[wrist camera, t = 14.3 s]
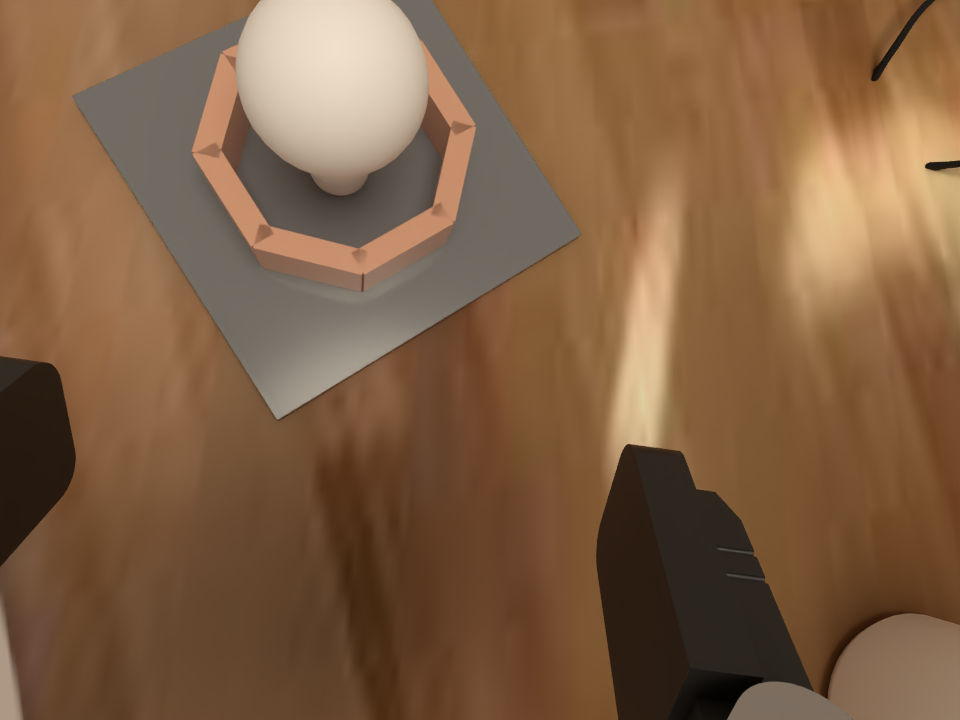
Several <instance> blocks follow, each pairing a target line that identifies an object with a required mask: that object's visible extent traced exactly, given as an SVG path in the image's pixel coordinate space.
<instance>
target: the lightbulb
mask: <svg viewBox="0 0 960 720" xmlns="http://www.w3.org/2000/svg"><path fill="white" fill-rule="evenodd" d="M235 68H236V85H237V89H238V92H239V96H240V100H241V103H242V106H243V109H244V112H245V114H246V116H247V118H248V120H249V122H250V124H251V126H252V127H253V129H254V130H255V131H256V133H257V134H258V135H259V136H260V138H261V139H262V140H263V141H264V143H265V144H266V145H267V146H268V147H269V148H270V149H271V150H273V151H274V152H275V153H276V154H277V155H278V156H280V157H281V158H282V159H283V160H284V161H286V162H288V163H290V164H291V165H293V166H295V167H296V168H298V169H300V170H303V171H306V172H308V173H310V174H311V176H312V178H313V180H314V182H315V183H316V184H317V186H318V187H320V188H321V189H322V190H323V191H325V192H327V193H329V194H332V195H337V196H345V195H349V194H352V193H354V192H356V191H358V190H359V189H360V188H361V187H362V186H363V185H364V184H365V182H366V180H367V177H368V174H369V173H371V172H374V171H376V170H378V169H381V168H383V167H384V166H386V165H387V164H389V163H390V162H391V161H393V160H394V159H396V158H397V157H398V156H399V154H400V153H401V152H402V151H403V150H404V149H405V148H406V147H407V146H408V145H409V144H410V143H411V141H412V140H413V138H414V136H415V135H416V133H417V132H418V130H419V128H420V126H421V123H422V120H423V118H424V115H425V112H426V107H427V102H428V94H429V76H428V67H427V61H426V57H425V54H424V51H423V47H422V44H421V42H420V40H419V38H418V36H417V34H416V32H415V30H414V28H413V26H412V24H411V22H410V21H409V19H408V18H407V17H406V16H405V14H404V13H403V12H402V10H401V9H400V8H399V7H398V6H397V5H396V4H395V3H394V2H393V1H391V0H261V1H260V2H259V3H258V4H257V6H256V7H255V8H254V10H253V11H252V13H251V14H250V16H249V17H248V19H247V22H246V24H245V27H244V29H243V31H242V34H241V36H240V39H239V43H238V49H237V55H236V66H235Z"/></svg>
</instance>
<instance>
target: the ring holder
mask: <svg viewBox="0 0 960 720" xmlns="http://www.w3.org/2000/svg"><path fill="white" fill-rule="evenodd" d="M391 1H393V2H394V3H395V4H396V5H397V6H398V7H399V8H400V9H401V10H402V12H403V13H404V14H405V16H406V17H407V18H408V19H409V21H410V22H411V24H412V26H413V28H414V30H415V32H416V34H417V36H418V38H419V40H420V42H421V44H422V47H423V51H424V54H425V57H426V61H427V67H428V76H429V94H428V102H427V107H426V112H425V115H424V118H423V120H422V123H421V126H420V128H419V130H418V132H417V133H416V135H415V136H414V138H413V140H412V141H411V143H410V144H409V145H408V146H407V147H406V148H405V149H404V150H403V151H402V152H401V153H400V154H399V156H398V157H397V158H396V159H394V160H393V161H391V162H390V163H389V164H387V165H386V166H384V167H383V168H381V169H378V170H376V171H374V172H371V173H369V174H368V177H367V180H366V182H365V184H364V185H363V186H362V187H361V188H360V189H359V190H358V191H356V192H354V193H352V194H349V195H345V196H337V195H332V194H329V193H327V192H325V191H323V190H322V189H321V188H320V187H318V186H317V184H316V183H315V182H314V180H313V178H312V176H311V174H310V173H308V172H306V171H303V170H300V169H298V168H296V167H295V166H293V165H291V164H290V163H288V162H286V161H284V160H283V159H282V158H281V157H280V156H278V155H277V154H276V153H275V152H274V151H273V150H271V149H270V148H269V147H268V146H267V145H266V144H265V143H264V141H263V140H262V139H261V138H260V136H259V135H258V134H257V133H256V131H255V130H254V129H253V127H252V126H251V124H250V122H249V120H248V118H247V116H246V114H245V112H244V109H243V106H242V103H241V100H240V96H239V92H238V89H237V85H236V68H235V66H236V55H237V49H238V43H239V39H240V36H241V34H242V31H243V29H244V27H245V24H246V22H247V19H248V17H249V16H250V15H248V16H246V17H244V18H242V19H240V20H237V21H235V22H233V23H231V24H229V25H226V26H224V27H222V28H220V29H218V30H215V31H213V32H211V33H209V34H207V35H205V36H202V37H200V38H198V39H196V40H194V41H191V42H189V43H187V44H185V45H183V46H180V47H178V48H176V49H174V50H172V51H169V52H167V53H165V54H163V55H161V56H158V57H156V58H154V59H152V60H150V61H148V62H145V63H143V64H141V65H139V66H137V67H134V68H132V69H130V70H128V71H126V72H123V73H121V74H119V75H117V76H115V77H112V78H110V79H108V80H106V81H104V82H102V83H99V84H97V85H95V86H93V87H91V88H88V89H86V90H84V91H82V92H80V93H77V94H75V95H73V96H72V97H73V99H74V101H75V102H76V104H77V105H78V107H79V108H80V110H81V112H82V113H83V115H84V116H85V118H86V119H87V121H88V123H89V124H90V126H91V127H92V129H93V130H94V132H95V134H96V135H97V137H98V138H99V140H100V141H101V143H102V145H103V146H104V148H105V149H106V151H107V153H108V154H109V156H110V157H111V159H112V160H113V162H114V164H115V165H116V167H117V168H118V170H119V171H120V173H121V175H122V176H123V178H124V179H125V181H126V182H127V184H128V186H129V187H130V189H131V190H132V192H133V193H134V195H135V197H136V198H137V200H138V201H139V203H140V204H141V206H142V208H143V209H144V211H145V212H146V214H147V216H148V217H149V219H150V220H151V222H152V223H153V225H154V227H155V228H156V230H157V231H158V233H159V234H160V236H161V238H162V239H163V241H164V242H165V244H166V245H167V247H168V249H169V250H170V252H171V253H172V255H173V256H174V258H175V260H176V261H177V263H178V264H179V266H180V267H181V269H182V271H183V272H184V274H185V275H186V277H187V279H188V280H189V282H190V283H191V285H192V286H193V288H194V290H195V291H196V293H197V294H198V296H199V297H200V299H201V301H202V302H203V304H204V305H205V307H206V308H207V310H208V312H209V313H210V315H211V316H212V318H213V319H214V321H215V323H216V324H217V326H218V327H219V329H220V331H221V332H222V334H223V335H224V337H225V338H226V340H227V342H228V343H229V345H230V346H231V348H232V349H233V351H234V353H235V354H236V356H237V357H238V359H239V360H240V362H241V364H242V365H243V367H244V368H245V370H246V371H247V373H248V375H249V376H250V378H251V379H252V381H253V382H254V384H255V386H256V387H257V389H258V390H259V392H260V394H261V395H262V397H263V398H264V400H265V401H266V403H267V405H268V406H269V408H270V409H271V411H272V412H273V414H274V416H275V417H276V419H277V420H280V419H282V418H284V417H285V416H287V415H289V414H290V413H292V412H293V411H295V410H297V409H298V408H300V407H302V406H303V405H305V404H307V403H308V402H310V401H311V400H313V399H315V398H316V397H318V396H320V395H321V394H323V393H325V392H326V391H328V390H330V389H331V388H333V387H334V386H336V385H338V384H339V383H341V382H343V381H344V380H346V379H348V378H349V377H351V376H352V375H354V374H356V373H357V372H359V371H361V370H362V369H364V368H366V367H367V366H369V365H370V364H372V363H374V362H375V361H377V360H379V359H380V358H382V357H384V356H385V355H387V354H388V353H390V352H392V351H393V350H395V349H397V348H398V347H400V346H402V345H403V344H405V343H406V342H408V341H410V340H411V339H413V338H415V337H416V336H418V335H420V334H421V333H423V332H424V331H426V330H428V329H429V328H431V327H433V326H434V325H436V324H438V323H439V322H441V321H442V320H444V319H446V318H447V317H449V316H451V315H452V314H454V313H456V312H457V311H459V310H460V309H462V308H464V307H465V306H467V305H469V304H470V303H472V302H474V301H475V300H477V299H478V298H480V297H482V296H483V295H485V294H487V293H488V292H490V291H492V290H493V289H495V288H496V287H498V286H500V285H501V284H503V283H505V282H506V281H508V280H510V279H511V278H513V277H515V276H516V275H518V274H519V273H521V272H523V271H524V270H526V269H528V268H529V267H531V266H533V265H534V264H536V263H537V262H539V261H541V260H542V259H544V258H546V257H547V256H549V255H551V254H552V253H554V252H555V251H557V250H559V249H560V248H562V247H564V246H565V245H567V244H569V243H570V242H572V241H573V240H575V239H577V238H578V237H579V236H580V235H581V232H580V231H579V229H578V227H577V226H576V224H575V223H574V221H573V220H572V218H571V217H570V215H569V213H568V212H567V210H566V209H565V207H564V206H563V204H562V202H561V201H560V199H559V198H558V196H557V195H556V193H555V192H554V190H553V188H552V187H551V185H550V184H549V182H548V181H547V179H546V178H545V176H544V174H543V173H542V171H541V170H540V168H539V167H538V165H537V163H536V162H535V160H534V159H533V157H532V156H531V154H530V153H529V151H528V149H527V148H526V146H525V145H524V143H523V142H522V140H521V138H520V137H519V135H518V134H517V132H516V131H515V129H514V128H513V126H512V124H511V123H510V121H509V120H508V118H507V117H506V115H505V114H504V112H503V110H502V109H501V107H500V106H499V104H498V103H497V101H496V99H495V98H494V96H493V95H492V93H491V92H490V90H489V89H488V87H487V85H486V84H485V82H484V81H483V79H482V78H481V76H480V75H479V73H478V71H477V70H476V68H475V67H474V65H473V64H472V62H471V60H470V59H469V57H468V56H467V54H466V53H465V51H464V50H463V48H462V46H461V45H460V43H459V42H458V40H457V39H456V37H455V35H454V34H453V32H452V31H451V29H450V28H449V26H448V25H447V23H446V21H445V20H444V18H443V17H442V15H441V14H440V12H439V11H438V9H437V7H436V6H435V4H434V3H433V1H432V0H391Z"/></svg>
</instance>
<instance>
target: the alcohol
mask: <svg viewBox="0 0 960 720" xmlns="http://www.w3.org/2000/svg"><path fill="white" fill-rule="evenodd" d="M828 700H830V701H831V702H832V703H834V704H835V705H837V706H838V707H839V708H841V709H842V710H843V711H844V712H845V713H847V714H848V715H849V716H850V717H851V718H852V719H853V720H960V625H958V624H955V623H951V622H948V621H944V620H941V619H938V618H934V617H931V616H927V615H923V614H911V613H907V614H901V615H894V616H891V617H888V618H886V619H883V620H881V621H878V622H876V623H875V624H873V625H871V626H869V627H868V628H866V629H865V630H863V631H862V632H860V633H859V634H858V635H856V636H855V637H854V638H853V639H852V640H851V641H850V642H849V644H848V645H847V646H846V647H845V648H844V650H843V652H842V653H841V655H840V656H839V658H838V660H837V662H836V664H835V667H834V669H833V672H832V674H831V678H830V683H829V688H828Z"/></svg>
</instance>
